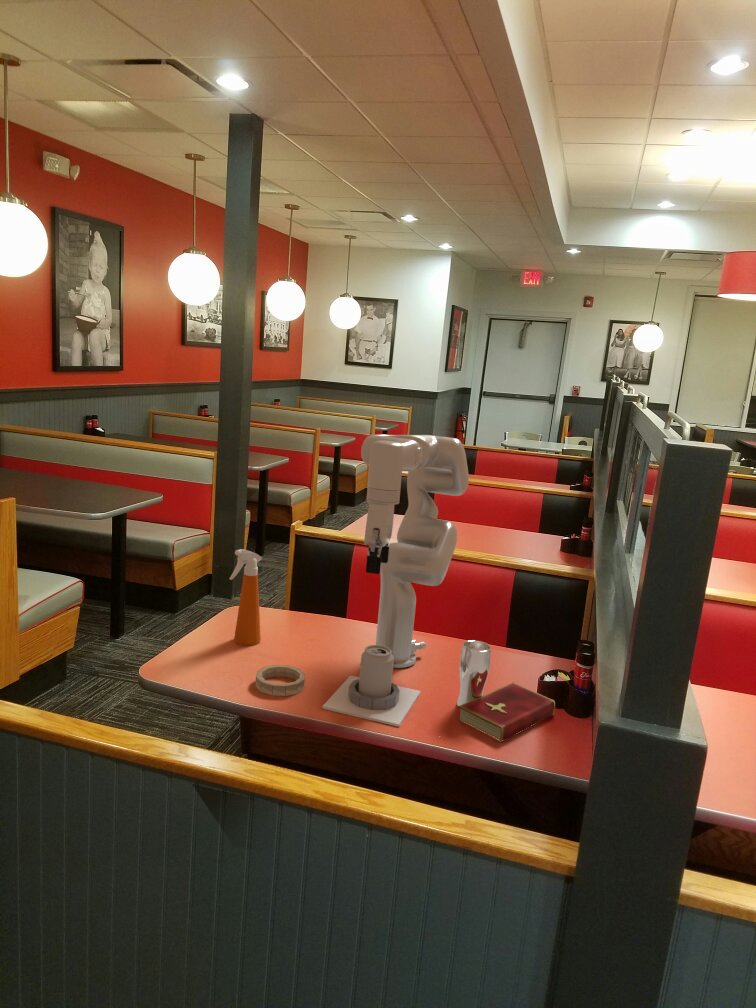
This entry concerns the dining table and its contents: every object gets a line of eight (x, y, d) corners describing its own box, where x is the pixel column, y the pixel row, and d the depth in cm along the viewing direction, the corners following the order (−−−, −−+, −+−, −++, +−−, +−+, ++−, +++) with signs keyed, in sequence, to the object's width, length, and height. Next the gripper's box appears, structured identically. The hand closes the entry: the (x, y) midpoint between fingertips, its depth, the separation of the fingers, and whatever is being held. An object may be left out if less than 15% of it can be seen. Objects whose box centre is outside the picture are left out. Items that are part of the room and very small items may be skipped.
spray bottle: (217, 643, 193) (222, 548, 188) (248, 633, 202) (252, 542, 196) (235, 651, 189) (240, 554, 184) (266, 641, 197) (271, 547, 192)
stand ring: (290, 671, 180) (291, 661, 180) (312, 690, 171) (313, 680, 170) (248, 679, 174) (248, 669, 173) (268, 699, 165) (269, 689, 164)
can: (396, 701, 168) (401, 652, 165) (369, 707, 163) (373, 658, 161) (378, 688, 174) (382, 641, 171) (351, 694, 169) (355, 645, 167)
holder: (350, 677, 179) (351, 666, 179) (420, 693, 174) (421, 681, 174) (322, 708, 163) (323, 695, 162) (399, 726, 157) (400, 713, 157)
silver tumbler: (465, 696, 175) (472, 637, 172) (490, 706, 171) (497, 646, 168) (449, 705, 170) (456, 644, 167) (474, 716, 165) (482, 654, 162)
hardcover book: (553, 716, 169) (556, 700, 168) (500, 745, 155) (503, 726, 154) (511, 697, 177) (513, 681, 177) (457, 722, 163) (459, 704, 162)
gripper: (374, 487, 174) (368, 556, 177) (359, 499, 157) (352, 575, 161) (405, 491, 173) (399, 560, 176) (392, 503, 156) (386, 580, 159)
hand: (377, 567), depth 168 cm, fingers open, 9 cm apart
